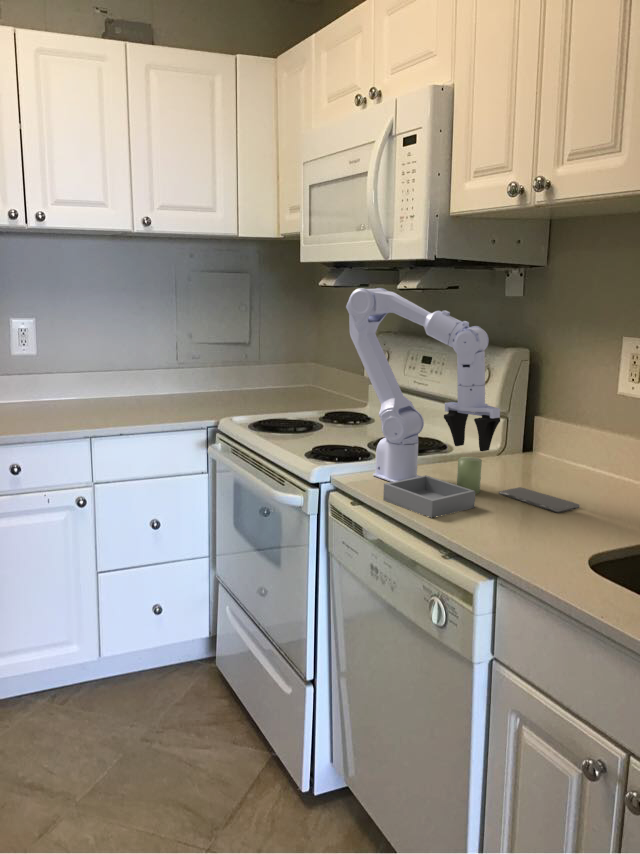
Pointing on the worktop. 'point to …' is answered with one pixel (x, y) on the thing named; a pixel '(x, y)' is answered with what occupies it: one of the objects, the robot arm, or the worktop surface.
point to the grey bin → (429, 496)
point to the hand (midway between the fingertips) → (471, 448)
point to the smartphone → (540, 500)
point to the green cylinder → (469, 473)
